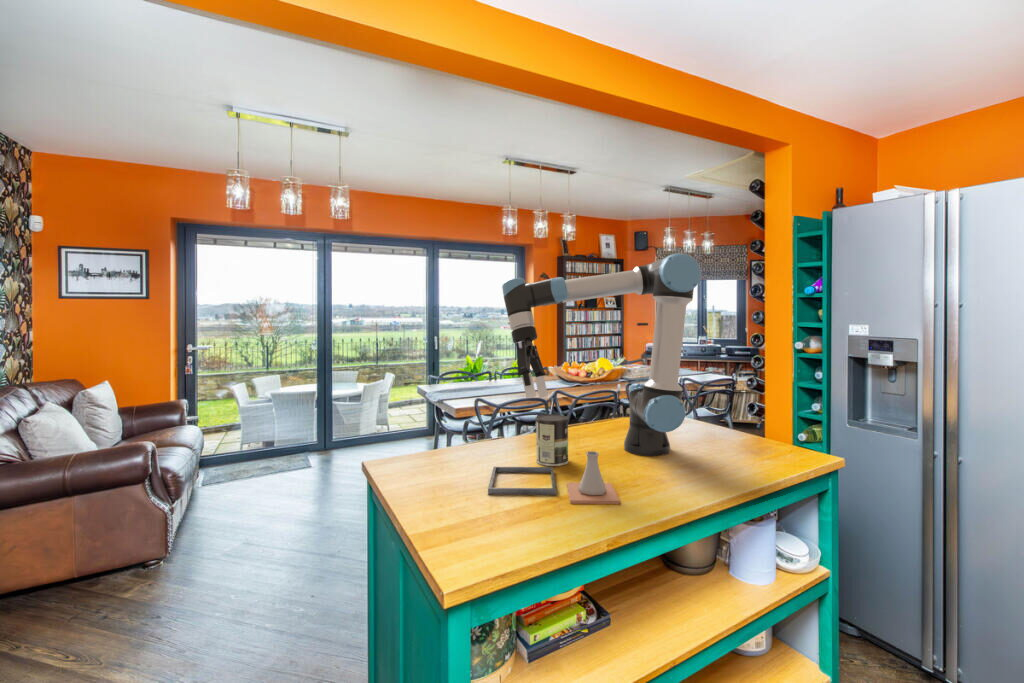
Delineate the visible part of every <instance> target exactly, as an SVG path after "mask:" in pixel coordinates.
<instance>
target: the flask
mask: <svg viewBox="0 0 1024 683" xmlns="http://www.w3.org/2000/svg"><path fill="white" fill-rule="evenodd" d="M585 454H586V463H585V464H586V466H585V469H584V472H583V475H582V478H581V480H580V482H579V483H580V485H579V488H578V489H579V491H580V493H583V494H588V495H603V494H604V493H605V492H606V488H605V485H604V483H605V482H604V479H603V477H602V474H601V471H600V467H599V463H598V462H599V461H598V460H599V459H598V457H599V455H600V454H599V452H598V451H592V450H591V451H589V450H588V451H587V452H585Z"/></svg>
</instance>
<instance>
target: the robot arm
mask: <svg viewBox="0 0 1024 683" xmlns="http://www.w3.org/2000/svg"><path fill="white" fill-rule="evenodd" d="M701 276H702V270H701V267H700V264H699V263H698V261H697V260H696V259H695V258H694V257H693V256H691V255H690V254H686V253H682V252H681V253H672V254H669V255H667V256H666V257H663V258H661V259H658V260H656V261H654V262H650V263H647V264H645V265H639V266H635V267H634V268H633V269H632V270H626V271H619V272H611V273H605V274H597V275H590V276H585V277H584V276H583V277H576V278H570V279H565V278H564V277H562V276H561V277H560V276H557V277H552V278H549V279H548V278H547V279H543V280H540V281H535V282H531V283H529V282H528V283H527V282H526V280H525V279H524V278H523V277H517V278H516V277H514V278H510V279H508V280H506V281H505V282H503V283H502V287H501V288H502V294H503V300H504V304H505V305H504V306H505V310H506V313H507V318H508V321H507V325H509V326H510V330H511V338H512V342H513V344H515V347H516V354H517V357H516V358H517V375H518V377H521V378H522V384H523V387H524V393H525V398H526V399H530V398H531V399H532V398H535V397H537V394H538V398H539V399H541V398H546V397H548V396H549V394H548V389H547V385H546V380H545V376H546V375H547V373H546V372H547V371H545V370H544V369H545V368H544V367H543V363H542V360H541V358H540V354H539V352H538V347H537V345H536V344H533V341H536V340H537V339H538V334H537V333H538V332H537V328H536V327H535V324H536V323H535V319H534V315H533V311H532V308H536V307H541V306H543V307H547V306H550V305H551V306H552V305H556V304H557V305H558V304H563V303H564V304H565V303H570V302H579V301H585V300H591V299H592V300H593V299H598V298H599V299H600V298H606V297H607V298H608V297H612V296H613V297H614V296H621V295H628V294H637V295H638V296H642V295H652V298H653V300H654V301H655V302H656V309H655V310H656V311H655V319H654V320H655V321H654V330H653V338H652V339H653V340H652V347H651V349H652V350H651V359H650V365H649V366H650V367H649V369H650V370H649V377H648V380H647V381H646V382H644V383H632V384H631V385H630V386H629V392H628V395H629V427H628V429H627V433H626V436H625V438H624V439H625V440H624V441H623V443H624V444H623V448H624V450H625V451H626V452H628V453H631V454H634V455H638V456H647V457H659V456H665V455H668V454H669V453H670V452H671V444H670V441H669V438H668V434H667V433H670V432H673V431H675V430H676V429H678V428H680V426H682V424H683V423H684V420H685V419H686V407H685V405H684V403H683V402H682V398H683V397H682V396H683V388H682V386H681V385H680V384H679V376H680V368H681V357H682V349H683V341H684V340H683V338H684V332H685V322H686V312H687V306H688V304H690V303H691V302H692V301H693V298H694V290H695V289H696V288H697V285H699V282H700V281H701ZM694 288H695V289H694ZM531 369H532V372H533V373H534V376H535V377H534V380H535V384H536V388H535V384H534V380H533V374H532V373H531ZM536 389H537V394H536Z"/></svg>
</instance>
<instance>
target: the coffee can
mask: <svg viewBox="0 0 1024 683" xmlns="http://www.w3.org/2000/svg"><path fill="white" fill-rule="evenodd" d="M535 423H536V425H535V426H536V428H535V430H536V432H535V434H536V435H535V436H536V443H535V444H536V460H535V461H536V463H537V464H538V465H541V466H544V467H561V466H564V465H567V464H568V463H569V416H566V415H562V414H552V413H551V414H549V413H548V414H540V415H538V416H536V417H535Z"/></svg>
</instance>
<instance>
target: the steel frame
mask: <svg viewBox="0 0 1024 683" xmlns="http://www.w3.org/2000/svg"><path fill="white" fill-rule="evenodd" d="M497 473H503V474H504V473H507V474H508V473H511V474H513V473H514V474H515V473H516V474H518V473H519V474H521V473H522V474H550V481H551V488H549V487H544V488H543V487H494V485H495V480H496V474H497ZM487 495H489V496H490V495H492V496H493V495H496V496H497V495H498V496H500V495H501V496H504V495H505V496H506V495H507V496H512V495H513V496H515V495H516V496H557V485H556V478H555V472H554V466H493V468H492V472H491V475H490V480H489V484H488V488H487Z"/></svg>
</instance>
